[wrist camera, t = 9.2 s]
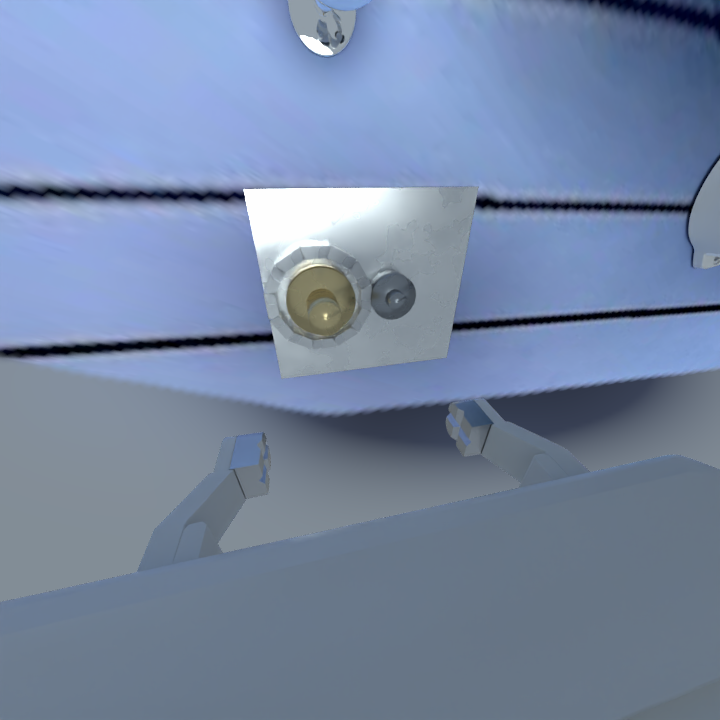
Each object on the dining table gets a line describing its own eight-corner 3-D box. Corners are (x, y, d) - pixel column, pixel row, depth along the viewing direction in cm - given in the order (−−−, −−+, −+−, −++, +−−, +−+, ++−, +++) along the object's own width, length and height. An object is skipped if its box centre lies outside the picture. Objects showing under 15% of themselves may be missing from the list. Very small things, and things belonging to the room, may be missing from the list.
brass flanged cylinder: (349, 260, 26) (362, 275, 21) (354, 322, 29) (366, 348, 24) (279, 267, 25) (277, 286, 20) (293, 331, 28) (294, 360, 23)
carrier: (471, 186, 26) (501, 186, 22) (442, 352, 35) (459, 372, 31) (245, 189, 22) (236, 189, 18) (281, 372, 32) (280, 396, 28)
